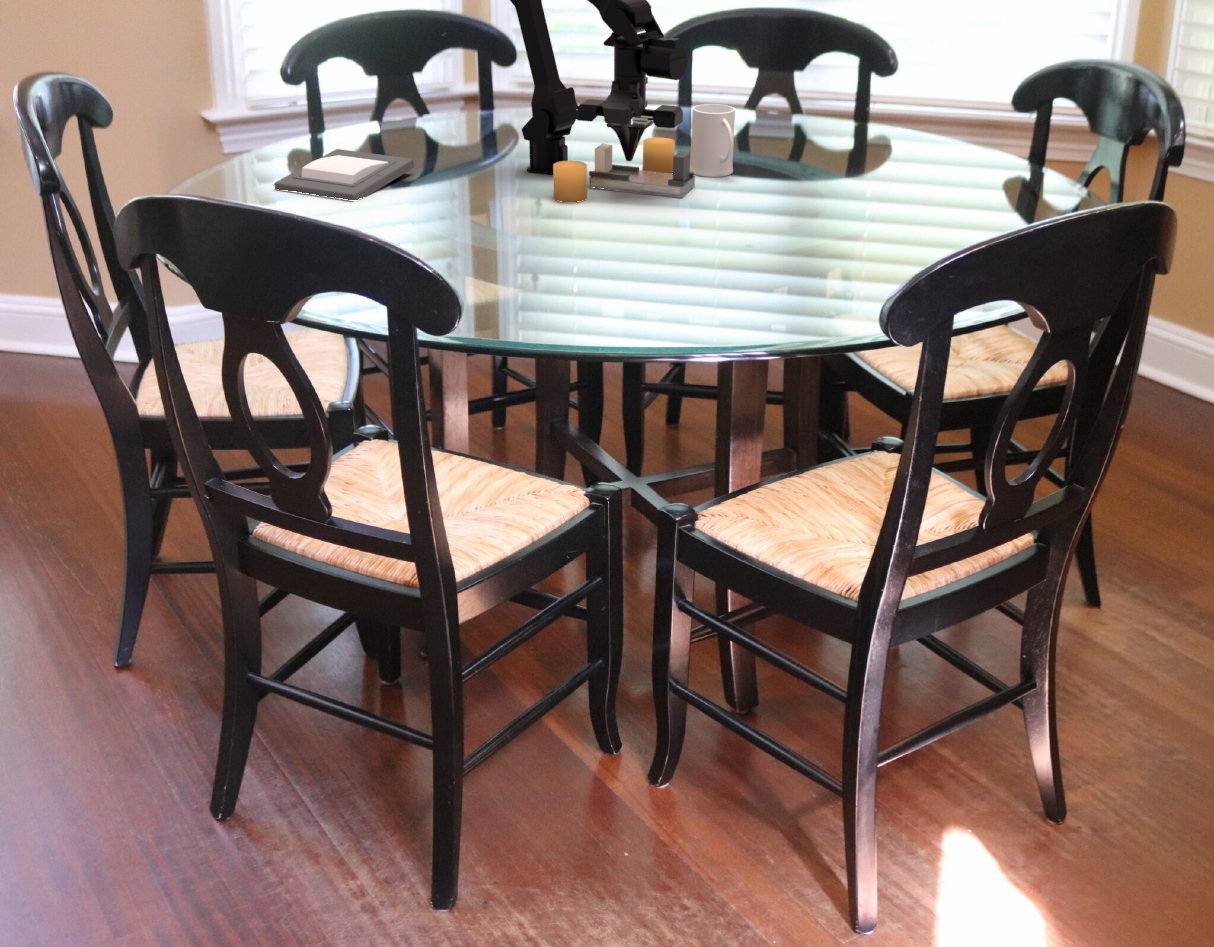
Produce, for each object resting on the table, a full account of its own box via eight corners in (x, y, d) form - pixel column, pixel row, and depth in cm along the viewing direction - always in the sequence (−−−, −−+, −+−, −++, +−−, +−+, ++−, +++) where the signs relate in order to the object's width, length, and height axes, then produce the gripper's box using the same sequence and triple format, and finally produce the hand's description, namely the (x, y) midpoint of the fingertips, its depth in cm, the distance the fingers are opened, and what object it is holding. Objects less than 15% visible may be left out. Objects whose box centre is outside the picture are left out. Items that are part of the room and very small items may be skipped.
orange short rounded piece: (638, 174, 239) (639, 143, 236) (648, 167, 244) (649, 136, 241) (668, 178, 237) (669, 146, 234) (677, 170, 242) (678, 139, 239)
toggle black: (672, 181, 227) (673, 156, 224) (679, 175, 230) (679, 151, 228) (683, 182, 226) (683, 157, 224) (689, 176, 229) (690, 152, 227)
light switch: (271, 173, 227) (335, 139, 242) (276, 199, 230) (339, 163, 245) (352, 185, 221) (412, 149, 236) (356, 211, 223) (415, 174, 238)
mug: (747, 179, 236) (751, 115, 230) (705, 183, 234) (708, 119, 228) (722, 164, 246) (725, 102, 240) (682, 167, 243) (684, 105, 238)
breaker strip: (587, 188, 231) (587, 173, 229) (602, 176, 237) (602, 162, 236) (681, 198, 225) (682, 183, 224) (694, 186, 232) (695, 171, 231)
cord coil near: (548, 200, 224) (548, 167, 221) (561, 192, 229) (560, 159, 226) (579, 204, 222) (579, 171, 219) (591, 195, 227) (591, 162, 224)
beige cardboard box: (594, 173, 231) (594, 149, 229) (602, 167, 234) (602, 143, 232) (604, 174, 230) (604, 150, 228) (612, 168, 234) (612, 144, 232)
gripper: (564, 78, 218) (566, 167, 226) (666, 86, 213) (664, 176, 220) (587, 67, 228) (588, 152, 235) (685, 74, 222) (682, 161, 229)
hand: (629, 160), depth 230 cm, fingers closed
